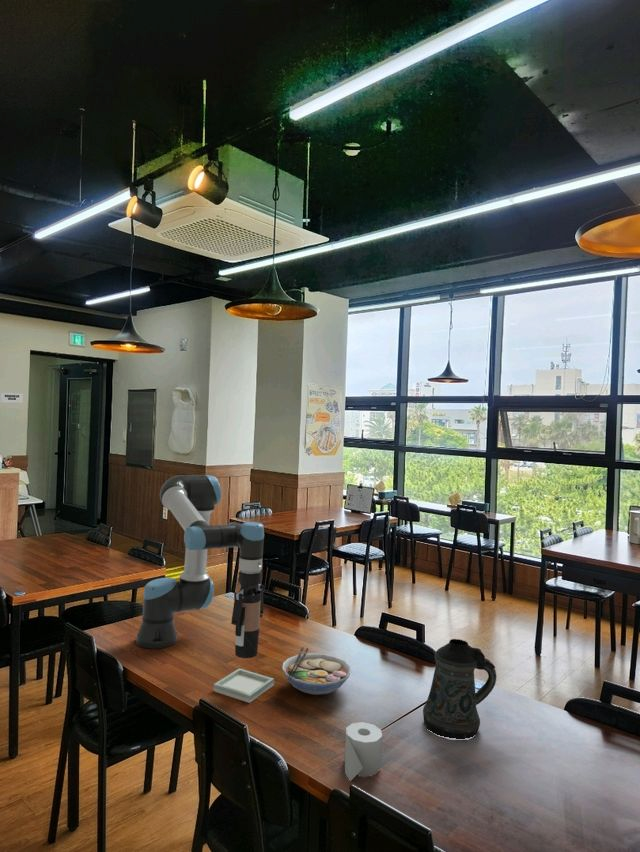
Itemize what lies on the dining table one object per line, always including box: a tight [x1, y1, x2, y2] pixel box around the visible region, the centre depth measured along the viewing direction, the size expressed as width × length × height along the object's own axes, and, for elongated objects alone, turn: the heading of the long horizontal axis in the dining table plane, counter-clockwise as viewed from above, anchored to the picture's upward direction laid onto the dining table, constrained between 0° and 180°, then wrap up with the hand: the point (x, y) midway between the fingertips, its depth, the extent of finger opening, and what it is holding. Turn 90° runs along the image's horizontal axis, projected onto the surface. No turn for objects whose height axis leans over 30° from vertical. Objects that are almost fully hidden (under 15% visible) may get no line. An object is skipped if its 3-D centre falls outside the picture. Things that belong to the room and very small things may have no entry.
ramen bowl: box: [281, 646, 352, 696], centre depth 180 cm, size 25×23×8 cm
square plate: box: [213, 668, 275, 704], centre depth 178 cm, size 14×14×2 cm
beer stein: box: [422, 638, 497, 739], centre depth 162 cm, size 16×19×25 cm
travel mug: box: [234, 590, 261, 659], centre depth 178 cm, size 8×8×20 cm
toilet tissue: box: [343, 721, 383, 782], centre depth 138 cm, size 9×13×9 cm
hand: (246, 641), depth 178 cm, fingers closed on travel mug, 8 cm apart
